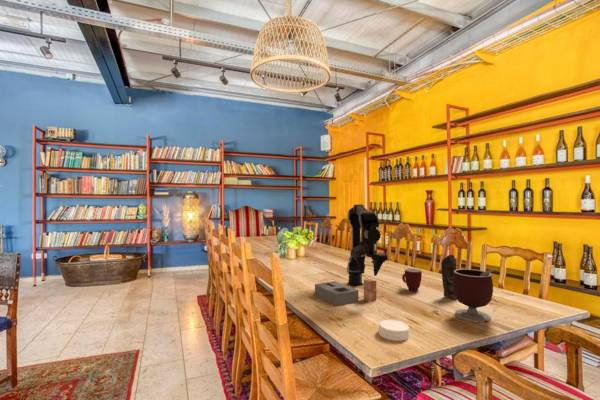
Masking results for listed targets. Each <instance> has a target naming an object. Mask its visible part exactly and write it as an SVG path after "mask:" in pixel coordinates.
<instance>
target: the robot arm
mask: <svg viewBox="0 0 600 400" xmlns="http://www.w3.org/2000/svg"><path fill="white" fill-rule="evenodd" d="M364 205H365V204H361V203H360V204H354V205H352V207H351V208H349V210H348V211H347V217H346V218H347V220H348V225H350V227H351V249H350V255H349V257H348V258H349V259H348V262H347V265H346V266H347V267H346V273H347V274H348V282H347V284H349V285H351V286H354V287H357V286H364V282H363V279H362V278H363V276H362V275H363V274H365V270H366V264H365V262H366V257H367V258H371V261H370V262H371V263H372V266H373V267H372V268H373V276H374V277H376V276H377V275H378V273H379V271H380V269H381V267H382V265H383V264H384V263H385V262H386V261H388V255H387V254H386V253H384V252H377V250H375V245H377V242H378V241H380V239H381V237H382V236H381V235H382V234H381V232H380V230H379V229H377V228H380V221H379V218H378V216H377V213H375V211H371V210H370V211H369V210H368V209H367V208H366V207H365V206H364Z"/></svg>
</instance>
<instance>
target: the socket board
mask: <svg viewBox="0 0 600 400" xmlns="http://www.w3.org/2000/svg"><path fill="white" fill-rule="evenodd" d="M314 296H316V297H318V298H321V299H322V300H323V301H327V302H329V303H331V304H332V305H335V306H337V307H338V306H342V305H346V304H351V303H357V302H359V290H358V289H356V288H355V287H351V286H349V285H346V284H343V283H341V282H339V281H336V280H335V281H334V280H333V281H328V282H323V283H322V282H320V283H315V284H314Z"/></svg>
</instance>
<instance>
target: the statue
mask: <svg viewBox="0 0 600 400" xmlns="http://www.w3.org/2000/svg"><path fill="white" fill-rule="evenodd" d="M440 266H441V279H442V287H443V296H444V297H445V298H447V299H450V300H457V298H456V297H455V295H454V292H453V274H454V270H457V262H456V258H455V256H454V254H449V255H447V256H445V257H444V258H442V261H441V264H440Z"/></svg>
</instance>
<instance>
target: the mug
mask: <svg viewBox="0 0 600 400" xmlns="http://www.w3.org/2000/svg"><path fill="white" fill-rule="evenodd" d="M422 277H423V273H422V270H421V269H417V268H406V269H404V273H403V275H402V276H401V278H402V282H403V283H405V284H406V287H407V288H408V290H409V291H411V292H418V291H419V288H420V287H421V282H422Z"/></svg>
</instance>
